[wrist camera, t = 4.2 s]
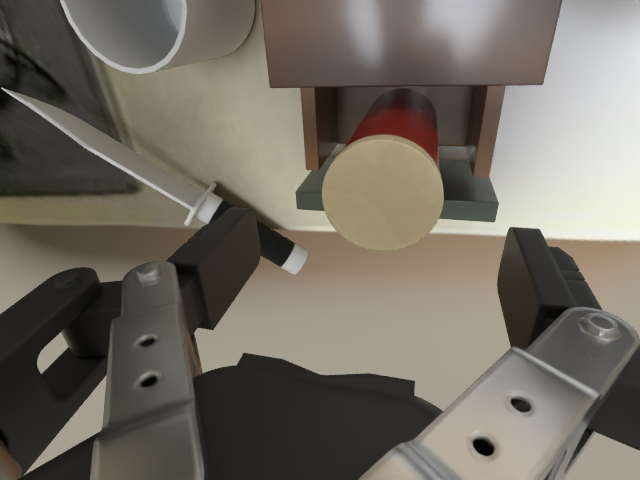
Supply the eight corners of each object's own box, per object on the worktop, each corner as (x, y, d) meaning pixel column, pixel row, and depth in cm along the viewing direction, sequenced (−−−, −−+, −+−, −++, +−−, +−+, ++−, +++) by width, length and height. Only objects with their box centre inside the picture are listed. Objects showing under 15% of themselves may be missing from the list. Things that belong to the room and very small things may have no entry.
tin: (349, 118, 26) (298, 185, 16) (410, 69, 23) (395, 112, 13) (391, 173, 27) (367, 269, 17) (453, 132, 25) (468, 215, 15)
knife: (312, 238, 35) (304, 271, 31) (298, 256, 37) (288, 289, 32) (33, 66, 30) (-23, 77, 25) (27, 93, 31) (-26, 109, 27)
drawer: (478, 193, 27) (491, 241, 22) (323, 186, 30) (298, 226, 24) (505, 40, 22) (530, 50, 17) (317, 47, 25) (283, 58, 19)
